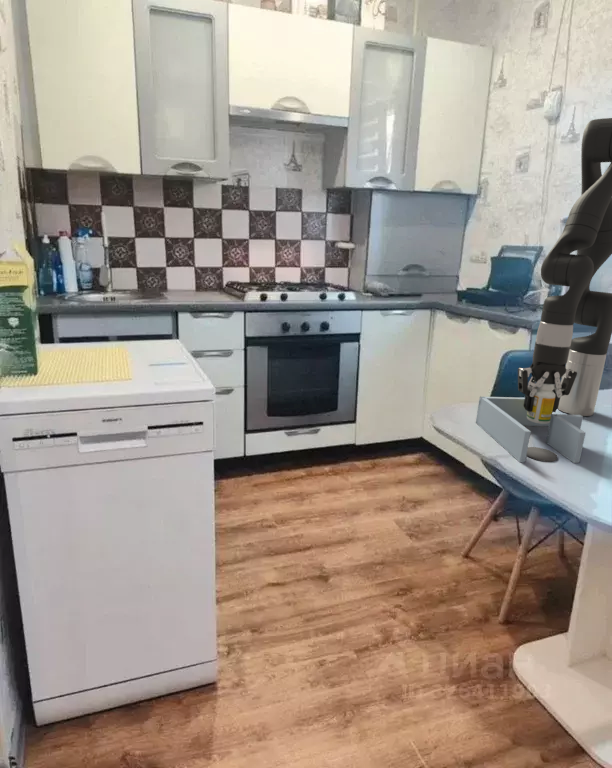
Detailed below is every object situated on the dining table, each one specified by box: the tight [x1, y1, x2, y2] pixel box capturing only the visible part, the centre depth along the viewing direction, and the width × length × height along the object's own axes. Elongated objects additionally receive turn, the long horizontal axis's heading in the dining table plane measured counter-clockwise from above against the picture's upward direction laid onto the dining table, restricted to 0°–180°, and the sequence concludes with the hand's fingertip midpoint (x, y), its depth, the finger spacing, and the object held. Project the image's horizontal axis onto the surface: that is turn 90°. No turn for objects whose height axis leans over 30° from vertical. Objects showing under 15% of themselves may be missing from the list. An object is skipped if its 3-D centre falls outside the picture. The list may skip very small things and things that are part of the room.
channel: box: [475, 396, 586, 464], centre depth 126 cm, size 24×19×7 cm
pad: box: [526, 446, 558, 463], centre depth 119 cm, size 7×7×1 cm
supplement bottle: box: [527, 384, 555, 424], centre depth 130 cm, size 5×5×10 cm
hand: (539, 410), depth 130 cm, fingers closed on supplement bottle, 5 cm apart
